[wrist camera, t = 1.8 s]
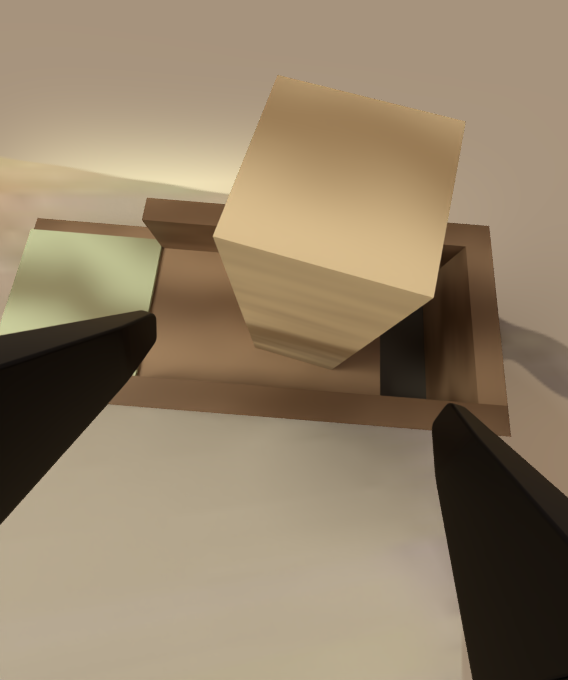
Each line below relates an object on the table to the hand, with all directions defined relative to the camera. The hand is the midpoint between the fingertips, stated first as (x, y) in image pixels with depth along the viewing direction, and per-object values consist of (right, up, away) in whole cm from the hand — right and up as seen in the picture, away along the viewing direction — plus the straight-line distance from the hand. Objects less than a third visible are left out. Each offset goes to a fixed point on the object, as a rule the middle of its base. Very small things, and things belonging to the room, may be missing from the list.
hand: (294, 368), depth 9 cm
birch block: (+1, +2, +10) cm, 10 cm away
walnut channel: (-3, +2, +12) cm, 13 cm away
